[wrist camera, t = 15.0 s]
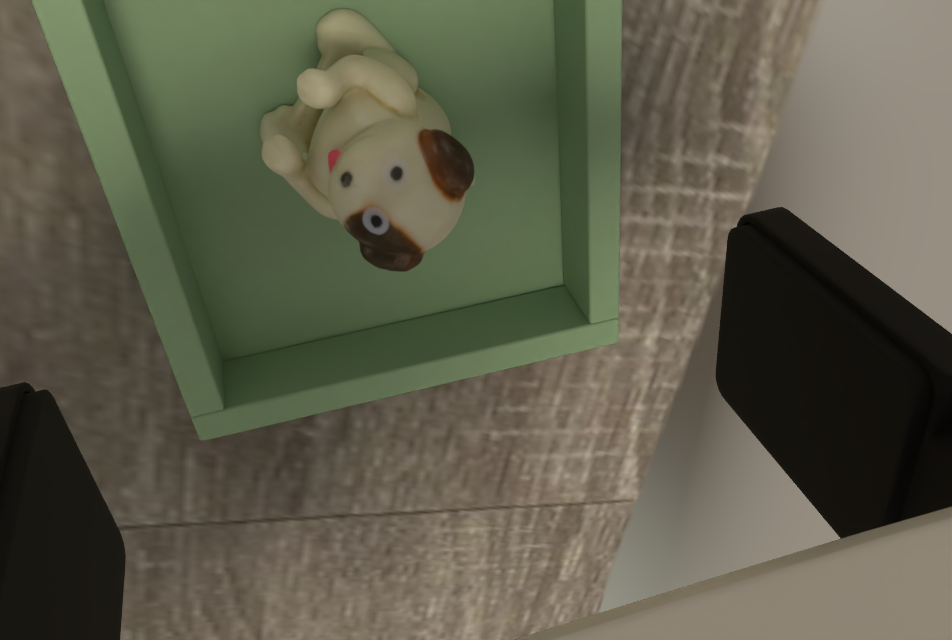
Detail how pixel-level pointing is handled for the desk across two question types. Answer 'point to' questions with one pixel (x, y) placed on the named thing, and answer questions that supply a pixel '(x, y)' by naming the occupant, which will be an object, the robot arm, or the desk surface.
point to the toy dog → (370, 146)
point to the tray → (324, 239)
